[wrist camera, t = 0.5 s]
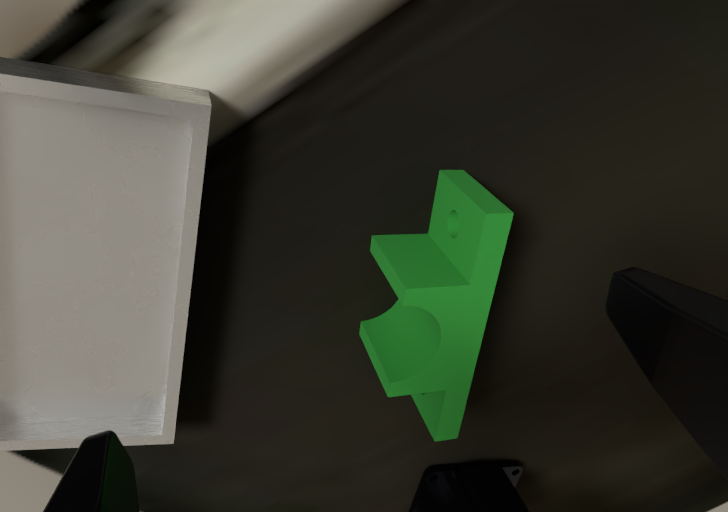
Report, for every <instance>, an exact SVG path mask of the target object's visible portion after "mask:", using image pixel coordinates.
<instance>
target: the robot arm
mask: <svg viewBox="0 0 728 512" xmlns="http://www.w3.org/2000/svg"><path fill="white" fill-rule="evenodd" d="M605 307H606V313H607V315H608V317H609V319H610V321H611V322H612V324H613V325H614V327H615V329H616V330H617V332H618V333H619V335H620V336H621V338H622V340H623V341H624V343H625V344H626V346H627V347H628V349H629V351H630V352H631V354H632V355H633V357H634V359H635V360H636V362H637V363H638V365H639V366H640V368H641V370H642V371H643V373H644V374H645V376H646V377H647V379H648V380H649V381H650V383H651V384H652V386H653V387H654V388H655V390H656V391H657V392H658V394H659V395H660V396H661V398H662V399H663V400H664V401H665V403H666V404H667V405H668V406H669V408H670V409H671V410H672V411H673V413H674V414H675V415H676V417H677V418H678V419H679V420H680V422H681V423H682V424H683V425H684V427H685V428H686V429H687V430H688V432H689V433H690V434H691V436H692V437H693V438H694V439H695V441H696V442H697V443H698V444H699V446H700V447H701V448H702V449H703V451H704V452H705V453H706V455H707V456H708V457H709V458H710V460H711V461H712V462H713V463H714V465H715V466H716V467H717V468H718V470H719V471H720V472H721V473H722V475H723V476H724V477H725V479H726V480H727V481H728V301H727V300H724V299H721V298H718V297H716V296H713V295H710V294H708V293H705V292H702V291H699V290H697V289H694V288H691V287H689V286H686V285H683V284H680V283H678V282H675V281H672V280H670V279H667V278H664V277H662V276H659V275H656V274H653V273H651V272H648V271H645V270H643V269H640V268H636V267H631V268H627V269H624V270H621V271H618V272H615V273H614V274H613V275H612V277H611V280H610V285H609V289H608V294H607V299H606V304H605ZM522 472H523V467H522V466H521V464H520V463H519V462H518V461H510V462H494V463H478V464H462V465H447V466H433V467H429V468H427V469H426V470H425V471H424V473H423V476H422V478H421V481H420V484H419V486H418V489H417V492H416V494H415V497H414V500H413V502H412V505H411V508H410V510H409V512H529V511H528V509H527V507H526V506H525V504H524V502H523V501H522V499H521V497H520V496H519V494H518V492H517V491H516V489H515V487H516V485H517V483H518V481H519V479H520V476H521V474H522ZM43 512H139V504H138V496H137V487H136V479H135V472H134V467H133V463H132V461H131V458H130V457H129V455H128V453H127V452H126V450H125V448H124V447H123V445H122V443H121V441H120V440H119V438H118V436H117V435H116V433H115V432H113V431H112V430H107V431H104V432H100V433H97V434H94V435H91V436H88V437H86V438H85V439H84V440H83V441H82V443H81V444H80V446H79V448H78V450H77V451H76V453H75V455H74V457H73V459H72V460H71V462H70V464H69V466H68V468H67V469H66V471H65V473H64V475H63V477H62V478H61V480H60V482H59V484H58V486H57V487H56V489H55V491H54V493H53V495H52V496H51V498H50V500H49V502H48V504H47V506H46V507H45V509H44V511H43Z"/></svg>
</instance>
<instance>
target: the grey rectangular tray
mask: <svg viewBox="0 0 728 512" xmlns="http://www.w3.org/2000/svg"><path fill="white" fill-rule="evenodd" d="M210 115H211V101H210V96H209V91H208V90H202V89H196V88H190V87H184V86H178V85H171V84H165V83H159V82H153V81H147V80H141V79H134V78H128V77H122V76H116V75H110V74H103V73H97V72H91V71H85V70H79V69H73V68H66V67H60V66H54V65H48V64H42V63H35V62H29V61H23V60H17V59H11V58H5V57H0V451H6V450H31V449H55V448H79V446H80V444H81V443H82V441H83V440H84V439H85V438H86V437H88V436H91V435H94V434H97V433H100V432H104V431H107V430H112V431H113V432H115V433H116V435H117V436H118V438H119V440H120V441H121V443H122V445H123V446H128V445H152V444H174V436H175V427H176V418H177V409H178V400H179V391H180V382H181V373H182V364H183V355H184V347H185V338H186V329H187V320H188V311H189V302H190V293H191V284H192V275H193V267H194V258H195V249H196V240H197V231H198V222H199V213H200V204H201V195H202V186H203V178H204V169H205V160H206V151H207V142H208V133H209V124H210Z"/></svg>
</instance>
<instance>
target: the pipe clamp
mask: <svg viewBox="0 0 728 512" xmlns="http://www.w3.org/2000/svg"><path fill="white" fill-rule="evenodd" d="M513 215H514V213H513V212H512V211H511V210H510V209H508V208H507V207H506V206H505V205H504V204H503V203H501V202H500V201H499V200H498V199H497V198H496V197H495V196H493V195H492V194H491V193H490V192H489V191H488V190H486V189H485V188H484V187H483V186H482V185H481V184H479V183H478V182H477V181H476V180H475V179H474V178H472V177H471V176H470V175H469V174H468V173H467V172H465V171H464V170H439V176H438V182H437V187H436V193H435V198H434V204H433V210H432V215H431V221H430V227H429V232H428V234H403V235H372V240H371V247H370V251H371V253H372V255H373V256H374V258H375V260H376V261H377V263H378V265H379V266H380V268H381V270H382V271H383V273H384V275H385V276H386V278H387V280H388V281H389V283H390V285H391V286H392V288H393V290H394V291H395V293H396V295H397V296H398V298H399V299H398V301H397V302H396V303H395V305H394V306H393V307H392V308H390V309H389V310H388V311H387V312H385V313H384V314H382V315H380V316H378V317H376V318H374V319H370V320H366V321H361V326H360V333H359V334H360V337H361V339H362V341H363V343H364V345H365V348H366V350H367V352H368V354H369V357H370V359H371V361H372V363H373V365H374V368H375V370H376V372H377V374H378V376H379V379H380V381H381V383H382V385H383V387H384V390H385V392H386V394H387V396H388V397H394V396H403V395H411V396H412V398H413V400H414V402H415V404H416V406H417V408H418V410H419V412H420V414H421V416H422V418H423V420H424V422H425V424H426V426H427V427H428V429H429V431H430V433H431V435H432V437H433V439H434V441H442V440H449V439H456V438H458V434H459V430H460V426H461V422H462V418H463V414H464V410H465V406H466V402H467V398H468V394H469V390H470V386H471V382H472V378H473V374H474V370H475V366H476V362H477V358H478V354H479V350H480V346H481V342H482V338H483V334H484V330H485V326H486V322H487V318H488V314H489V310H490V306H491V302H492V298H493V294H494V290H495V286H496V282H497V278H498V274H499V270H500V266H501V262H502V258H503V254H504V250H505V246H506V243H507V239H508V235H509V231H510V227H511V223H512V219H513Z"/></svg>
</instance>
